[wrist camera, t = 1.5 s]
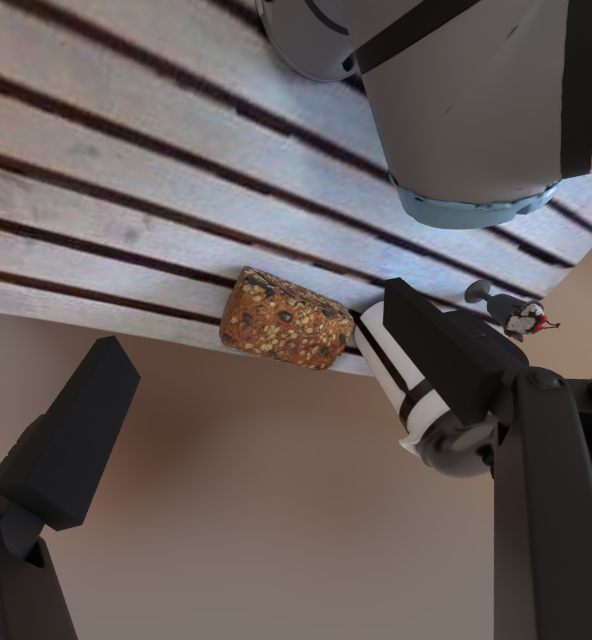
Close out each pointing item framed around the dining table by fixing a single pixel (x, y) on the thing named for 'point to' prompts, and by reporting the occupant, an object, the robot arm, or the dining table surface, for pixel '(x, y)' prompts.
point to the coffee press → (429, 399)
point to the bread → (284, 321)
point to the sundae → (510, 311)
